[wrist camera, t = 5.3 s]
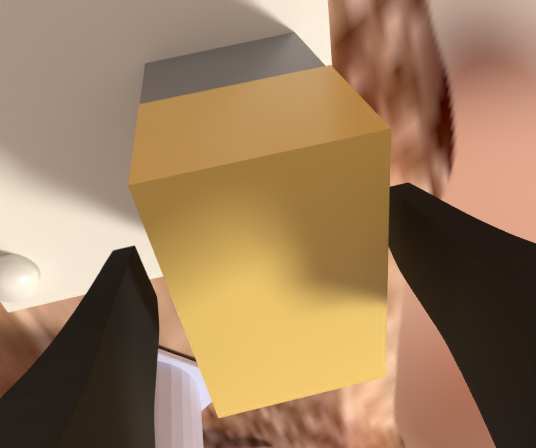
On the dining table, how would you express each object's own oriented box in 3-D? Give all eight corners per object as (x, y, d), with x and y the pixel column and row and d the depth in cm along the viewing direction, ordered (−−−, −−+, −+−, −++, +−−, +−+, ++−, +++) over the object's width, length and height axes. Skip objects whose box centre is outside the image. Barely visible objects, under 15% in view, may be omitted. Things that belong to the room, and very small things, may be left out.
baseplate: (336, 221, 21) (347, 243, 20) (14, 296, 21) (3, 324, 19) (277, -555, 9) (296, -633, 8) (-506, -445, 8) (-633, -509, 7)
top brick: (343, 283, 17) (385, 376, 13) (208, 315, 16) (218, 418, 13) (330, 64, 12) (390, 129, 9) (138, 104, 12) (127, 185, 8)
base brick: (315, 222, 20) (344, 286, 17) (203, 248, 20) (209, 318, 16) (295, 31, 15) (329, 69, 12) (145, 63, 15) (138, 110, 12)
